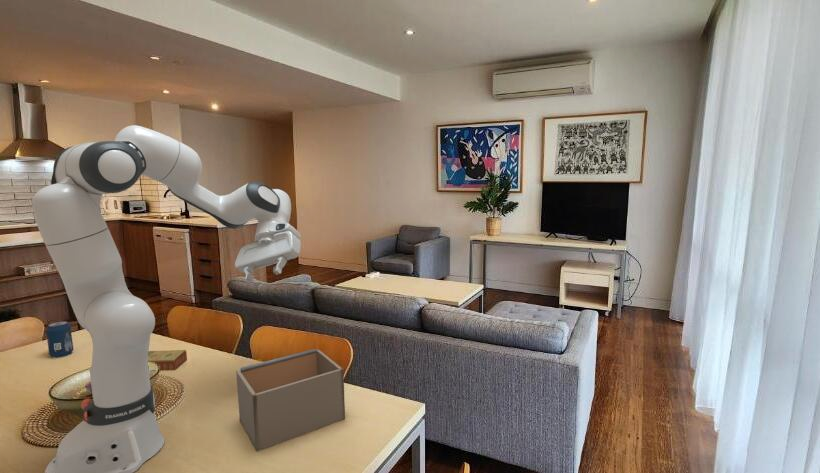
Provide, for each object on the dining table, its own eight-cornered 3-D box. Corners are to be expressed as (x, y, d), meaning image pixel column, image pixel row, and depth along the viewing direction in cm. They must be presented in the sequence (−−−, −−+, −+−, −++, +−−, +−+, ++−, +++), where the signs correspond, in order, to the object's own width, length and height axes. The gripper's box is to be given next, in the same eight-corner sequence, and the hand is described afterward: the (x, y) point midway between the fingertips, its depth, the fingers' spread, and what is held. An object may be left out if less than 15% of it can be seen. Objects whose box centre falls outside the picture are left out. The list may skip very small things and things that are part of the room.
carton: (175, 371, 143) (174, 359, 142) (126, 372, 142) (125, 360, 141) (187, 360, 151) (186, 349, 150) (141, 361, 150) (140, 350, 150)
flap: (244, 417, 112) (241, 368, 110) (243, 415, 113) (240, 367, 111) (318, 393, 124) (316, 349, 122) (316, 392, 125) (314, 348, 123)
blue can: (53, 352, 158) (49, 322, 156) (76, 349, 161) (72, 319, 159) (46, 360, 152) (42, 328, 150) (70, 356, 155) (66, 324, 153)
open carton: (256, 451, 100) (253, 396, 98) (239, 420, 113) (236, 370, 111) (345, 418, 113) (343, 369, 111) (320, 394, 126) (318, 349, 124)
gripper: (235, 240, 126) (224, 280, 118) (293, 221, 120) (286, 262, 112) (249, 250, 131) (240, 290, 122) (305, 233, 125) (300, 274, 116)
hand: (262, 277), depth 117 cm, fingers open, 8 cm apart
